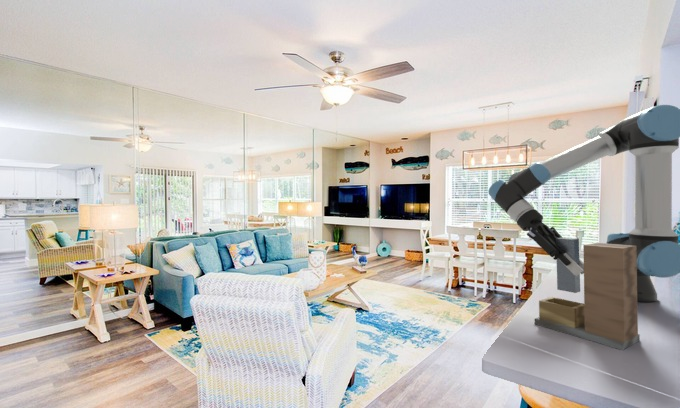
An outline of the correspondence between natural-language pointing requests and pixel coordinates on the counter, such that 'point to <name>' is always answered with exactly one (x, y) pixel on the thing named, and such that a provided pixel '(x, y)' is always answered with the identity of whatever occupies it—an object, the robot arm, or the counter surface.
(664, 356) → the counter surface
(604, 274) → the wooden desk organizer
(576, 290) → the grey block
